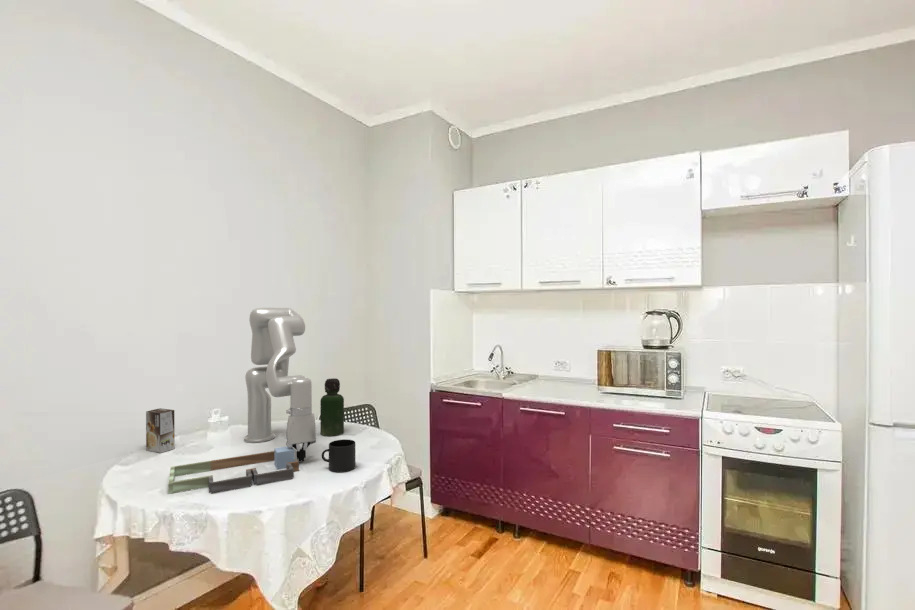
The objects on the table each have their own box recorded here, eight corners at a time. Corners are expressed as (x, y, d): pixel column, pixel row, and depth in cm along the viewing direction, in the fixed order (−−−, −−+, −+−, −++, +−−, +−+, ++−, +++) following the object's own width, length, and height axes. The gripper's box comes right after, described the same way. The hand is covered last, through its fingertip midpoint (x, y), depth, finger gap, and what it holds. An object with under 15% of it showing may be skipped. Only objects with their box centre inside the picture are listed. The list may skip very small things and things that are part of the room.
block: (274, 464, 168) (274, 448, 168) (291, 461, 171) (291, 445, 171) (277, 469, 163) (277, 452, 163) (294, 466, 166) (294, 450, 166)
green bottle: (333, 429, 216) (333, 376, 216) (348, 432, 210) (348, 378, 210) (315, 434, 208) (315, 379, 208) (330, 438, 202) (330, 381, 202)
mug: (324, 464, 168) (324, 439, 168) (357, 463, 170) (357, 438, 170) (318, 473, 159) (318, 447, 159) (353, 472, 160) (353, 446, 160)
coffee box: (175, 448, 187) (175, 409, 187) (160, 453, 181) (160, 413, 181) (160, 446, 190) (160, 407, 190) (144, 450, 184) (145, 411, 184)
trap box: (170, 476, 157) (170, 466, 157) (289, 456, 176) (289, 448, 176) (167, 501, 136) (167, 491, 136) (302, 476, 156) (302, 467, 156)
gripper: (281, 415, 163) (281, 467, 163) (323, 411, 171) (323, 459, 171) (278, 411, 170) (278, 461, 169) (318, 407, 177) (318, 454, 177)
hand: (301, 460), depth 170 cm, fingers closed
